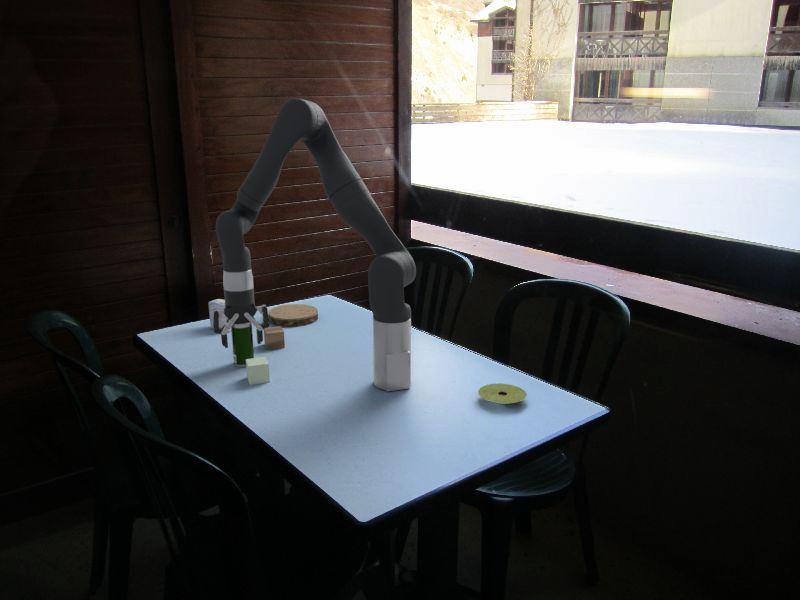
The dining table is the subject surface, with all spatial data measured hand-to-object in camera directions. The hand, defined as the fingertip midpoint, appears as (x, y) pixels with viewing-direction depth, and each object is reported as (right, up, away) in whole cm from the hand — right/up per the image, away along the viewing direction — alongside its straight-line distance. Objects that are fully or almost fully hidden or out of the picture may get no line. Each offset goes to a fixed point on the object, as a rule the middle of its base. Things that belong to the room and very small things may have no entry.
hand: (242, 345), depth 175 cm
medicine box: (-13, +3, +30) cm, 33 cm away
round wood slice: (+7, +5, +39) cm, 40 cm away
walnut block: (+6, -1, +15) cm, 16 cm away
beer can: (0, -5, +2) cm, 6 cm away
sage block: (+6, -8, -9) cm, 13 cm away
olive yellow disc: (+66, -12, -20) cm, 70 cm away
